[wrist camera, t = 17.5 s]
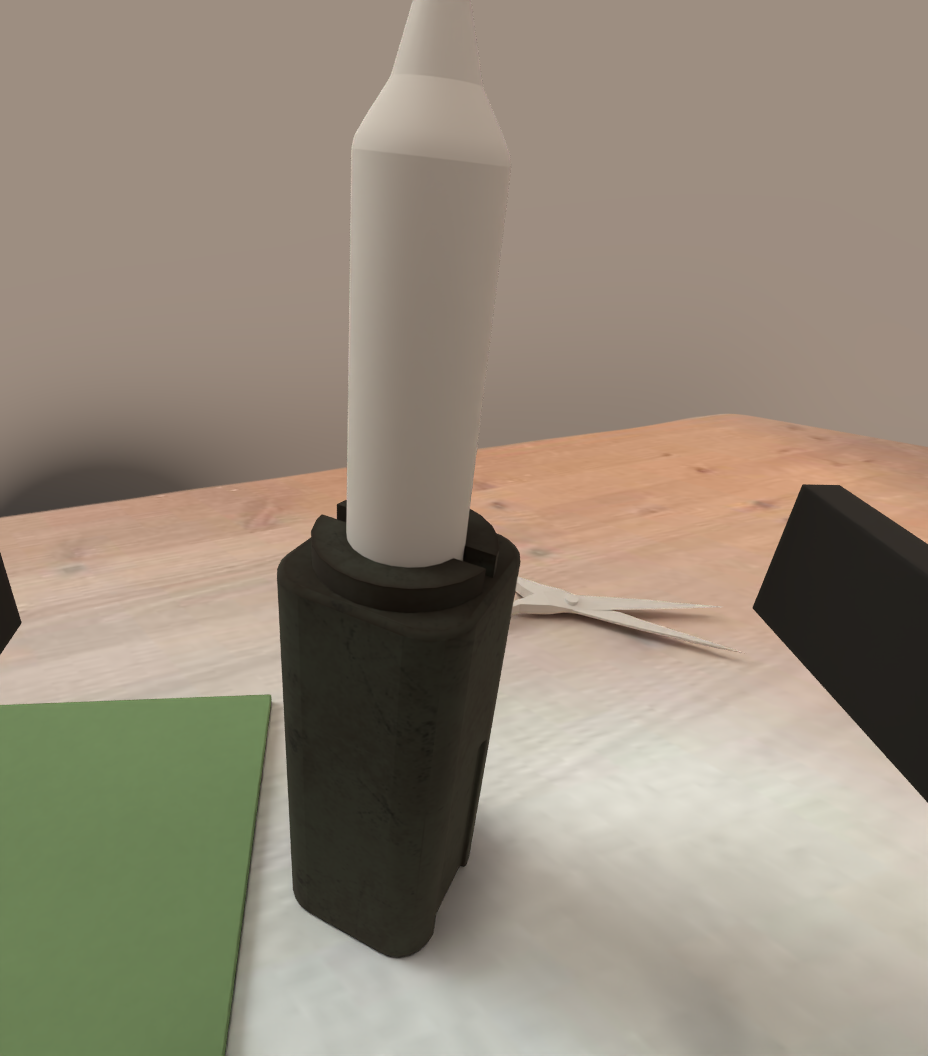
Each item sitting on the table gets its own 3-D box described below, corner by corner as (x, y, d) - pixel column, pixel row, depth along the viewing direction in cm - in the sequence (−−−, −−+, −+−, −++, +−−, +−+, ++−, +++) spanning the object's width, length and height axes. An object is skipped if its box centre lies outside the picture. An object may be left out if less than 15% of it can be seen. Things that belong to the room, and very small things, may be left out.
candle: (361, 780, 25) (389, -52, 13) (479, 837, 23) (642, -52, 11) (277, 895, 21) (200, -175, 9) (414, 972, 19) (559, -201, 7)
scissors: (401, 528, 41) (716, 572, 40) (401, 538, 41) (712, 582, 40) (360, 631, 32) (768, 691, 31) (360, 643, 32) (763, 703, 31)
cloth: (-585, 1356, 12) (-601, 1351, 12) (-91, 715, 26) (-95, 708, 25) (204, 1211, 15) (202, 1205, 14) (271, 700, 28) (271, 693, 28)
